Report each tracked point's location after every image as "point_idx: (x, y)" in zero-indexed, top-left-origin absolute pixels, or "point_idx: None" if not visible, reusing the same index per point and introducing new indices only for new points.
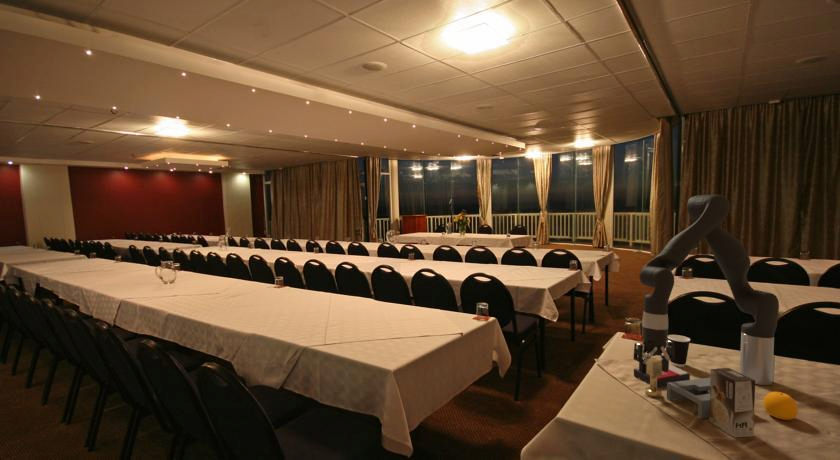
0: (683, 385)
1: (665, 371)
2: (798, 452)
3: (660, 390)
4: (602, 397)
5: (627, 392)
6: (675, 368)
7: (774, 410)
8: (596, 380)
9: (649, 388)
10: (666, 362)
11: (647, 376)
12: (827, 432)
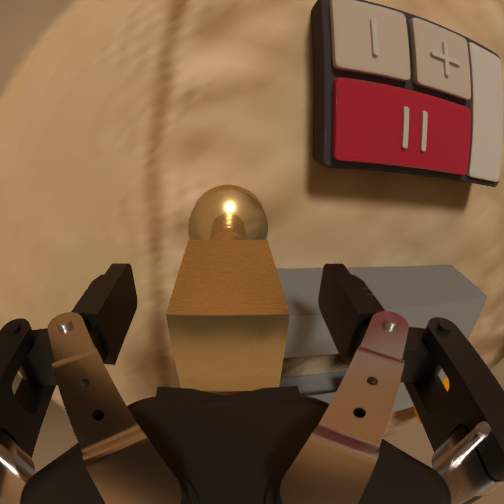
0: (318, 351)
1: (318, 302)
2: None
3: (265, 238)
4: (8, 201)
5: (117, 172)
6: (496, 122)
7: (415, 409)
8: (68, 31)
9: (224, 205)
10: (341, 358)
11: (323, 95)
12: None
